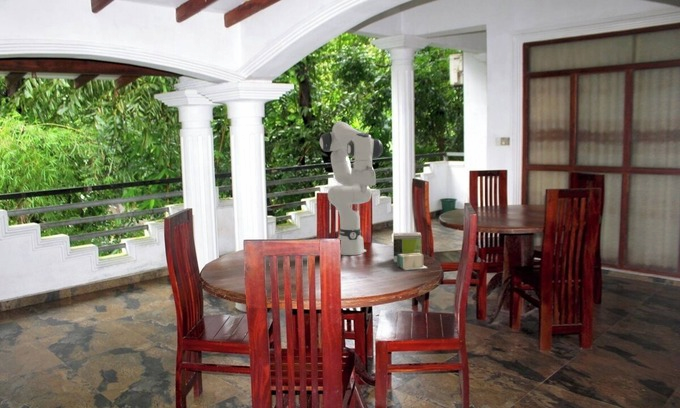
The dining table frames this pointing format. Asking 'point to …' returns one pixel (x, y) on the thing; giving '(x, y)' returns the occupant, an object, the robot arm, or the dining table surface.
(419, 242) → the tea box
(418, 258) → the beech block
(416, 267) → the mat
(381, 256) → the dining table surface
